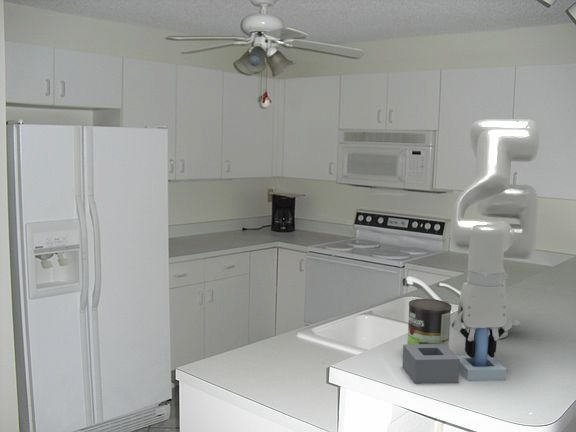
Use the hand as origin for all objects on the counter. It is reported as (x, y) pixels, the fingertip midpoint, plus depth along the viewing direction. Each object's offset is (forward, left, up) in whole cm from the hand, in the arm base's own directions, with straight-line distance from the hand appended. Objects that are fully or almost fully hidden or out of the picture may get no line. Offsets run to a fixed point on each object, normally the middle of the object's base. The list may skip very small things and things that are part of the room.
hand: (480, 354), depth 140 cm
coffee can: (+9, -11, -5) cm, 15 cm away
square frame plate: (0, 0, -5) cm, 5 cm away
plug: (0, 0, -4) cm, 4 cm away
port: (+12, +1, -5) cm, 13 cm away
